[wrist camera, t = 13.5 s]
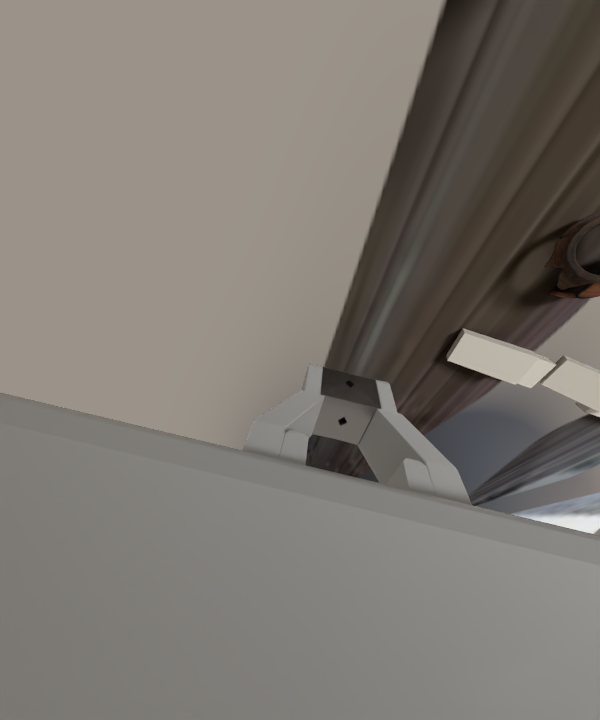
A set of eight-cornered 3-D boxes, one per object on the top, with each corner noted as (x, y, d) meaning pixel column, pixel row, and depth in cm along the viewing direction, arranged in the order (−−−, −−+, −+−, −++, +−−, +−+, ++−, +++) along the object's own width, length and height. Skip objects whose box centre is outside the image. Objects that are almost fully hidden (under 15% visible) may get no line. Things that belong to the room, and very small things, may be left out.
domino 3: (541, 384, 41) (616, 419, 38) (567, 359, 38) (650, 395, 35) (538, 379, 43) (610, 412, 40) (563, 355, 40) (643, 389, 37)
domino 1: (447, 360, 41) (515, 385, 39) (464, 333, 38) (539, 357, 36) (446, 354, 42) (511, 378, 40) (462, 328, 40) (534, 351, 38)
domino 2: (475, 369, 42) (531, 388, 42) (497, 344, 39) (556, 364, 40) (470, 362, 43) (523, 381, 44) (490, 338, 41) (548, 357, 41)
